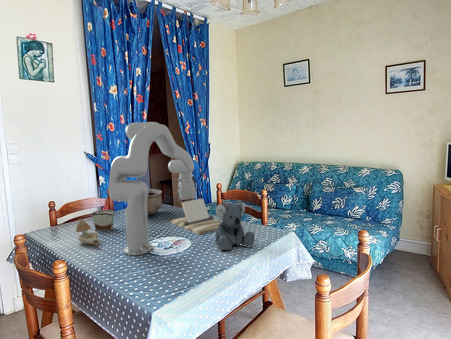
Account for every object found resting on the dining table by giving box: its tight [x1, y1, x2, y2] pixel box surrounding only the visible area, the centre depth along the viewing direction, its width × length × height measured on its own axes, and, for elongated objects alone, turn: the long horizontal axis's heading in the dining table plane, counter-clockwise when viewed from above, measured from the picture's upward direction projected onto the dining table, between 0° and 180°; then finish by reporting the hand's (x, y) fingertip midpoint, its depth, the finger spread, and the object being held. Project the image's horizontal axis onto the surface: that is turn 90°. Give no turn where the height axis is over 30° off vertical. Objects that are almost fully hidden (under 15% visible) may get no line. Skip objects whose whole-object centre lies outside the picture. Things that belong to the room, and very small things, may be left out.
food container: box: [91, 209, 115, 231], centre depth 174 cm, size 12×6×10 cm, turn 84°
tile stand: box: [169, 215, 223, 235], centre depth 177 cm, size 30×20×4 cm, turn 39°
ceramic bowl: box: [126, 188, 163, 216], centre depth 201 cm, size 22×22×15 cm
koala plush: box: [214, 202, 256, 251], centre depth 144 cm, size 17×18×20 cm
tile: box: [180, 198, 210, 224], centre depth 179 cm, size 13×14×2 cm
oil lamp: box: [75, 218, 101, 246], centre depth 151 cm, size 9×21×10 cm, turn 42°
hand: (187, 210), depth 186 cm, fingers closed
